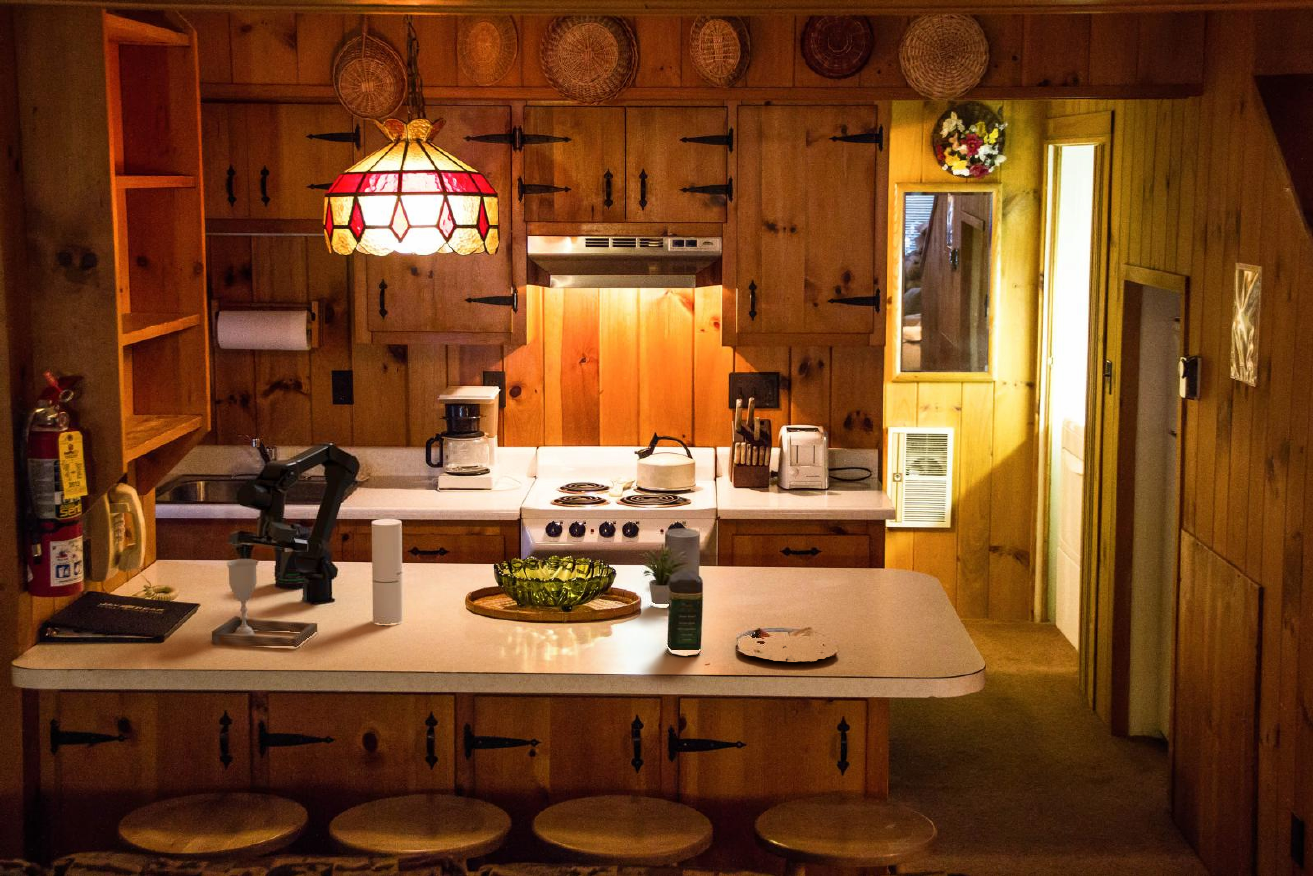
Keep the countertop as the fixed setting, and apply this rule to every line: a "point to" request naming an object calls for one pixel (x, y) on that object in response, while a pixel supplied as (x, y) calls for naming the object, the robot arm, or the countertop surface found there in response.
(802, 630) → the food plate
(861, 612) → the countertop surface
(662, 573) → the house plant
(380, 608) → the cylindrical container
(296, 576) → the storage jar
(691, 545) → the pillar candle
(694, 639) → the coffee jar
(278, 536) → the robot arm
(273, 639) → the rectangular frame
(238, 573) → the chalice
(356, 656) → the countertop surface
